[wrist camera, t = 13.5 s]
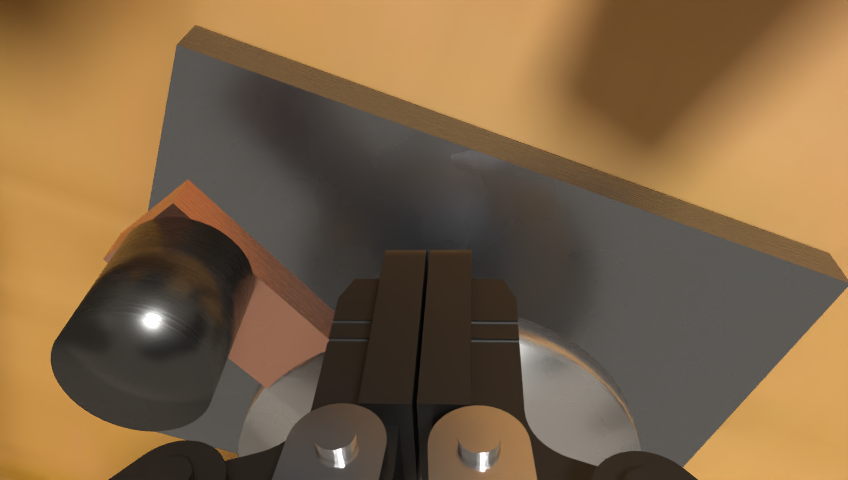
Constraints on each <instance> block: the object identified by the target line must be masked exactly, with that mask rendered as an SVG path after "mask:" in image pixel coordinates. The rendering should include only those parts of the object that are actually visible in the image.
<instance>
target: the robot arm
mask: <svg viewBox="0 0 848 480" xmlns="http://www.w3.org/2000/svg"><path fill="white" fill-rule="evenodd" d="M421 479H422V480H697V479H696V478H695V477H694V476H692V475H691V474H690V473H689V472H687V471H686V470H685V469H684V468H682V467H681V466H680V465H678V464H677V463H675V462H673V461H672V460H670V459H668V458H666V457H663V456H660V455H658V454H654V453H650V452H644V451H627V452H621V453H618V454H615V455H612V456H610V457H609V458H607V459H605V460H604V461H603V462H602V463H600V464H599V465H598V466H596V465H592V464H589V463H586V462H582V461H579V460H576V459H572V458H569V457H567V456H564V455H561V454H560V453H558V452H556V451H554V450H552V449H551V448H549V447H548V446H546V445H545V444H544V443H543V442H541V441H540V440H539V439H538V438H537V437H536V435H535V434H534V433H533V432H532V430H531V428H530V427H529V425H528V422H527V420H526V416H525V409H524V396H523V383H522V369H521V356H520V344H519V329H518V316H517V303H516V297H515V296H514V295H513V293H512V292H511V290H510V289H509V288H508V286H507V285H506V283H505V282H504V281H503V279H472V250H430V256H429V264H428V252H427V250H386V251H385V253H384V258H383V264H382V270H381V275H380V279H354V280H353V282H352V283H351V284H350V285H349V286H348V287H347V288H346V290H345V291H344V292H343V293H342V294H341V295H340V296H339V298H338V301H337V306H336V310H335V314H334V318H333V324H332V326H331V330H330V334H329V342H327V347H326V351H325V355H324V359H323V363H322V367H321V371H320V375H319V379H318V383H317V387H316V392H315V396H314V400H313V404H312V408H311V411H310V412H309V413H307V414H306V415H305V416H303V417H302V418H301V419H300V420H299V421H298V422H297V423H296V424H295V425H294V426H293V428H292V429H291V430H290V432H289V434H288V436H287V439H286V441H284V442H282V443H281V444H279V445H277V446H275V447H273V448H270V449H268V450H265V451H262V452H258V453H254V454H250V455H247V456H243V457H239V458H235V459H231V460H227V461H224V459H223V457H222V456H221V454H220V453H219V452H218V451H217V450H216V449H215V448H213V447H212V446H210V445H208V444H206V443H203V442H198V441H189V440H186V441H177V442H172V443H168V444H165V445H162V446H160V447H157V448H155V449H153V450H151V451H150V452H148V453H146V454H145V455H143V456H142V457H140V458H139V459H137V460H136V461H135V462H133V463H132V464H130V465H129V466H127V467H126V468H125V469H123V470H122V471H120V472H119V473H117V474H116V475H115V476H113V477H112V478H110V479H109V480H421Z"/></svg>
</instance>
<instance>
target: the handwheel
mask: <svg viewBox="0 0 848 480" xmlns="http://www.w3.org/2000/svg"><path fill="white" fill-rule="evenodd" d="M104 260H105V261H106V262H108V264H107V265H106V267H105V268H104V270H103V271H102V273H101V274H100V276H99V277H98V279H97V280H96V281H95V283H94V284H93V286H92V287H91V289H90V290H89V292H88V293H87V295H86V296H85V298H84V299H83V301H82V302H81V303H80V305H79V306H78V308H77V309H76V311H75V312H74V314H73V315H72V317H71V318H70V320H69V321H68V322H67V324H66V325H65V327H64V328H63V330H62V331H61V333H60V334H59V336H58V337H57V339H56V340H55V342H54V344H53V347H52V351H51V365H52V370H53V373H54V375H55V378H56V379H57V381H58V383H59V385H60V386H61V388H62V389H63V390H64V392H65V393H66V394H67V395H68V396H69V397H70V398H71V399H72V400H73V401H74V402H75V403H76V404H78V405H79V406H80V407H82V408H83V409H84V410H86V411H88V412H89V413H91V414H92V415H94V416H96V417H98V418H100V419H102V420H104V421H107V422H109V423H112V424H115V425H118V426H121V427H125V428H129V429H134V430H140V431H167V430H173V429H177V428H181V427H184V426H186V425H188V424H190V423H192V422H194V421H196V420H197V419H198V418H200V417H201V416H202V415H203V414H204V413H205V412H206V410H207V409H208V407H209V405H210V403H211V401H212V398H213V395H214V393H215V390H216V388H217V385H218V382H219V380H220V377H221V375H222V372H223V369H224V367H225V364H226V362H227V359H228V358H229V359H230V360H231V361H233V362H234V363H235V364H236V365H238V366H239V367H240V368H242V369H243V370H244V371H245V372H247V373H248V374H249V375H250V376H252V377H253V378H254V379H255V380H257V381H258V382H259V384H258V386H257V388H256V391H255V393H254V395H253V397H252V400H251V403H250V406H249V409H248V412H247V415H246V418H245V421H244V424H243V427H242V432H241V436H240V440H239V444H238V458H239V457H243V456H247V455H250V454H254V453H258V452H262V451H265V450H268V449H270V448H273V447H275V446H277V445H279V444H281V443H282V442H284V441H286V439H287V436H288V434H289V432H290V430H291V429H292V428H293V426H294V425H295V424H296V423H297V422H298V421H299V420H300V419H301V418H302V417H303V416H305V415H306V414H307V413H309V412H310V411H311V408H312V404H313V400H314V396H315V392H316V387H317V383H318V379H319V375H320V371H321V367H322V363H323V359H324V355H325V351H326V347H327V342H329V334H330V330H331V326H332V324H333V318H334V314H335V311H334V310H332V309H331V308H330V307H329V306H328V305H327V304H326V303H325V302H324V301H323V300H321V299H320V298H319V297H318V296H317V295H316V294H315V293H314V292H313V291H311V290H310V289H309V288H308V287H307V286H306V285H305V284H304V283H303V282H301V281H300V280H299V279H298V278H297V277H296V276H295V275H294V274H293V273H291V272H290V271H289V270H288V269H287V268H286V267H285V266H284V265H283V264H282V263H280V262H279V261H278V260H277V259H276V258H275V257H274V256H273V255H272V254H270V253H269V252H268V251H267V250H266V249H265V248H264V247H263V246H262V245H260V244H259V243H258V242H257V241H256V240H255V239H254V238H253V237H252V236H250V235H249V234H248V233H247V232H246V231H245V230H244V229H243V228H242V227H241V226H239V225H238V224H237V223H236V222H235V221H234V220H233V219H232V218H231V217H229V216H228V215H227V214H226V213H225V212H224V211H223V210H222V209H221V208H219V207H218V206H217V205H216V204H215V203H214V202H213V201H212V200H211V199H209V198H208V197H207V196H206V195H205V194H204V193H203V192H202V191H201V190H200V189H198V188H197V187H196V186H195V185H194V184H193V183H192V182H191V181H190V180H186V181H185V182H184V183H183V184H181V185H180V186H179V187H178V188H176V189H175V190H174V191H173V192H172V193H170V194H169V195H168V196H167V197H165V198H164V199H163V200H162V201H161V202H159V203H158V204H157V205H156V206H154V207H153V208H152V209H151V210H150V211H148V212H147V213H146V214H145V215H143V216H142V217H141V218H140V219H139V220H137V221H136V222H135V223H134V224H132V225H131V226H130V227H129V228H127V229H126V230H125V231H124V232H123V233H121V235H120V236H119V237H118V239H117V240H116V242H115V243H114V245H113V246H112V247H111V249H110V250H109V252H108V253H107V255H106V256H105V258H104ZM518 329H519V344H520V356H521V369H522V383H523V396H524V409H525V416H526V420H527V422H528V425H529V427H530V428H531V430H532V432H533V433H534V434H535V435H536V437H537V438H538V439H539V440H540V441H541V442H543V443H544V444H545V445H546V446H548V447H549V448H551V449H552V450H554V451H556V452H558V453H560V454H561V455H564V456H567V457H569V458H572V459H576V460H579V461H582V462H586V463H589V464H592V465H596V466H598V465H599V464H600V463H602V462H603V461H604V460H605V459H607V458H609V457H610V456H612V455H615V454H618V453H621V452H627V451H641V448H640V444H639V440H638V436H637V432H636V428H635V424H634V420H633V417H632V413H631V410H630V407H629V404H628V402H627V400H626V398H625V396H624V394H623V392H622V390H621V388H620V387H619V385H618V384H617V383H616V381H615V380H614V379H613V378H612V376H611V375H610V374H609V372H608V371H607V370H606V369H605V368H604V367H603V366H602V365H601V364H600V363H599V362H598V361H597V360H596V359H595V358H593V357H592V356H591V355H590V354H589V353H588V352H586V351H585V350H583V349H582V348H581V347H579V346H578V345H576V344H575V343H573V342H572V341H571V340H569V339H567V338H565V337H563V336H561V335H560V334H558V333H556V332H554V331H552V330H550V329H548V328H546V327H544V326H541V325H539V324H536V323H533V322H531V321H528V320H526V319H523V318H520V317H518ZM421 480H422V479H421Z"/></svg>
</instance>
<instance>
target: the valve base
mask: <svg viewBox="0 0 848 480" xmlns="http://www.w3.org/2000/svg"><path fill="white" fill-rule="evenodd" d="M186 180H190V181H191V182H192V183H193V184H194V185H195V186H196V187H197V188H198V189H200V190H201V191H202V192H203V193H204V194H205V195H206V196H207V197H208V198H209V199H211V200H212V201H213V202H214V203H215V204H216V205H217V206H218V207H219V208H221V209H222V210H223V211H224V212H225V213H226V214H227V215H228V216H229V217H231V218H232V219H233V220H234V221H235V222H236V223H237V224H238V225H239V226H241V227H242V228H243V229H244V230H245V231H246V232H247V233H248V234H249V235H250V236H252V237H253V238H254V239H255V240H256V241H257V242H258V243H259V244H260V245H262V246H263V247H264V248H265V249H266V250H267V251H268V252H269V253H270V254H272V255H273V256H274V257H275V258H276V259H277V260H278V261H279V262H280V263H282V264H283V265H284V266H285V267H286V268H287V269H288V270H289V271H290V272H291V273H293V274H294V275H295V276H296V277H297V278H298V279H299V280H300V281H301V282H303V283H304V284H305V285H306V286H307V287H308V288H309V289H310V290H311V291H313V292H314V293H315V294H316V295H317V296H318V297H319V298H320V299H321V300H323V301H324V302H325V303H326V304H327V305H328V306H329V307H330V308H331V309H332V310H334V311H335V310H336V306H337V301H338V298H339V296H340V295H341V294H342V293H343V292H344V291H345V290H346V288H347V287H348V286H349V285H350V284H351V283H352V282H353V280H354V279H380V275H381V270H382V264H383V258H384V253H385V251H386V250H427V252H428V264H429V256H430V250H472V279H503V281H504V282H505V283H506V285H507V286H508V288H509V289H510V290H511V292H512V293H513V295H514V296H515V297H516V303H517V316H518V317H520V318H523V319H526V320H528V321H531V322H533V323H536V324H539V325H541V326H544V327H546V328H548V329H550V330H552V331H554V332H556V333H558V334H560V335H561V336H563V337H565V338H567V339H569V340H571V341H572V342H573V343H575V344H576V345H578V346H579V347H581V348H582V349H583V350H585V351H586V352H588V353H589V354H590V355H591V356H592V357H593V358H595V359H596V360H597V361H598V362H599V363H600V364H601V365H602V366H603V367H604V368H605V369H606V370H607V371H608V372H609V374H610V375H611V376H612V378H613V379H614V380H615V381H616V383H617V384H618V385H619V387H620V388H621V390H622V392H623V394H624V396H625V398H626V400H627V402H628V404H629V407H630V410H631V413H632V417H633V420H634V424H635V428H636V432H637V436H638V440H639V444H640V448H641V451H644V452H650V453H654V454H658V455H660V456H663V457H666V458H668V459H670V460H672V461H673V462H675V463H677V464H678V465H680V466H681V467H682V468H683V466H684V465H685V464H686V463H687V462H688V461H689V460H690V459H691V458H692V457H693V456H694V454H695V453H696V452H697V451H698V450H699V449H700V448H701V447H702V446H703V445H704V443H705V442H706V441H707V440H708V439H709V438H710V437H711V436H712V435H713V434H714V433H715V431H716V430H717V429H718V428H719V427H720V426H721V425H722V424H723V423H724V422H725V420H726V419H727V418H728V417H729V416H730V415H731V414H732V413H733V412H734V411H735V410H736V408H737V407H738V406H739V405H740V404H741V403H742V402H743V401H744V400H745V399H746V397H747V396H748V395H749V394H750V393H751V392H752V391H753V390H754V389H755V388H756V387H757V385H758V384H759V383H760V382H761V381H762V380H763V379H764V378H765V377H766V376H767V375H768V373H769V372H770V371H771V370H772V369H773V368H774V367H775V366H776V365H777V364H778V362H779V361H780V360H781V359H782V358H783V357H784V356H785V355H786V354H787V353H788V352H789V350H790V349H791V348H792V347H793V346H794V345H795V344H796V343H797V342H798V341H799V339H800V338H801V337H802V336H803V335H804V334H805V333H806V332H807V331H808V330H809V329H810V327H811V326H812V325H813V324H814V323H815V322H816V321H817V320H818V319H819V318H820V316H821V315H822V314H823V313H824V312H825V311H826V310H827V309H828V308H829V307H830V306H831V304H832V303H833V302H834V301H835V300H836V299H837V298H838V297H839V296H840V295H841V293H842V292H843V291H844V290H845V289H846V288H847V287H848V279H847V278H846V276H845V275H844V273H843V272H842V271H841V269H840V268H839V266H838V265H837V263H836V262H835V261H834V259H833V258H832V256H831V255H830V254H829V253H826V252H823V251H821V250H818V249H815V248H812V247H809V246H807V245H804V244H801V243H798V242H796V241H793V240H790V239H787V238H784V237H782V236H779V235H776V234H773V233H771V232H768V231H765V230H762V229H759V228H757V227H754V226H751V225H748V224H746V223H743V222H740V221H737V220H734V219H732V218H729V217H726V216H723V215H721V214H718V213H715V212H712V211H709V210H707V209H704V208H701V207H698V206H696V205H693V204H690V203H687V202H684V201H682V200H679V199H676V198H673V197H671V196H668V195H665V194H662V193H659V192H657V191H654V190H651V189H648V188H646V187H643V186H640V185H637V184H634V183H632V182H629V181H626V180H623V179H621V178H618V177H615V176H612V175H610V174H607V173H604V172H601V171H598V170H596V169H593V168H590V167H587V166H585V165H582V164H579V163H576V162H573V161H571V160H568V159H565V158H562V157H560V156H557V155H554V154H551V153H548V152H546V151H543V150H540V149H537V148H535V147H532V146H529V145H526V144H523V143H521V142H518V141H515V140H512V139H510V138H507V137H504V136H501V135H498V134H496V133H493V132H490V131H487V130H485V129H482V128H479V127H476V126H473V125H471V124H468V123H465V122H462V121H460V120H457V119H454V118H451V117H448V116H446V115H443V114H440V113H437V112H435V111H432V110H429V109H426V108H423V107H421V106H418V105H415V104H412V103H410V102H407V101H404V100H401V99H398V98H396V97H393V96H390V95H387V94H385V93H382V92H379V91H376V90H373V89H371V88H368V87H365V86H362V85H360V84H357V83H354V82H351V81H348V80H346V79H343V78H340V77H337V76H335V75H332V74H329V73H326V72H323V71H321V70H318V69H315V68H312V67H310V66H307V65H304V64H301V63H298V62H296V61H293V60H290V59H287V58H285V57H282V56H279V55H276V54H273V53H271V52H268V51H265V50H262V49H260V48H257V47H254V46H251V45H248V44H246V43H243V42H240V41H237V40H235V39H232V38H229V37H226V36H223V35H221V34H218V33H215V32H212V31H210V30H207V29H204V28H201V27H198V26H196V25H195V26H194V27H193V28H192V29H191V30H190V31H189V32H188V34H187V35H186V36H185V37H184V38H183V39H182V40H181V41H180V42H179V43H178V44H177V47H176V53H175V59H174V64H173V70H172V76H171V82H170V87H169V93H168V99H167V105H166V111H165V116H164V122H163V128H162V134H161V140H160V145H159V151H158V157H157V163H156V169H155V174H154V180H153V186H152V192H151V198H150V203H149V209H148V211H150V210H151V209H152V208H153V207H154V206H156V205H157V204H158V203H159V202H161V201H162V200H163V199H164V198H165V197H167V196H168V195H169V194H170V193H172V192H173V191H174V190H175V189H176V188H178V187H179V186H180V185H181V184H183V183H184V182H185V181H186ZM258 384H259V382H258V381H257V380H255V379H254V378H253V377H252V376H250V375H249V374H248V373H247V372H245V371H244V370H243V369H242V368H240V367H239V366H238V365H236V364H235V363H234V362H233V361H231V360H230V359H229V358H228V359H227V362H226V364H225V367H224V369H223V372H222V375H221V377H220V380H219V382H218V385H217V388H216V390H215V393H214V395H213V398H212V401H211V403H210V405H209V407H208V409H207V410H206V412H205V413H204V414H203V415H202V416H201V417H200V418H198V419H197V420H196V421H194V422H192V423H190V424H188V425H186V426H184V427H181V428H177V429H173V430H167V431H155V432H159V433H163V434H166V435H170V436H174V437H178V438H181V439H185V440H189V441H198V442H203V443H206V444H208V445H210V446H212V447H215V448H219V449H222V450H226V451H230V452H234V453H237V454H238V444H239V440H240V436H241V432H242V427H243V424H244V421H245V418H246V415H247V412H248V409H249V406H250V403H251V400H252V397H253V395H254V393H255V391H256V388H257V386H258Z"/></svg>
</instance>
